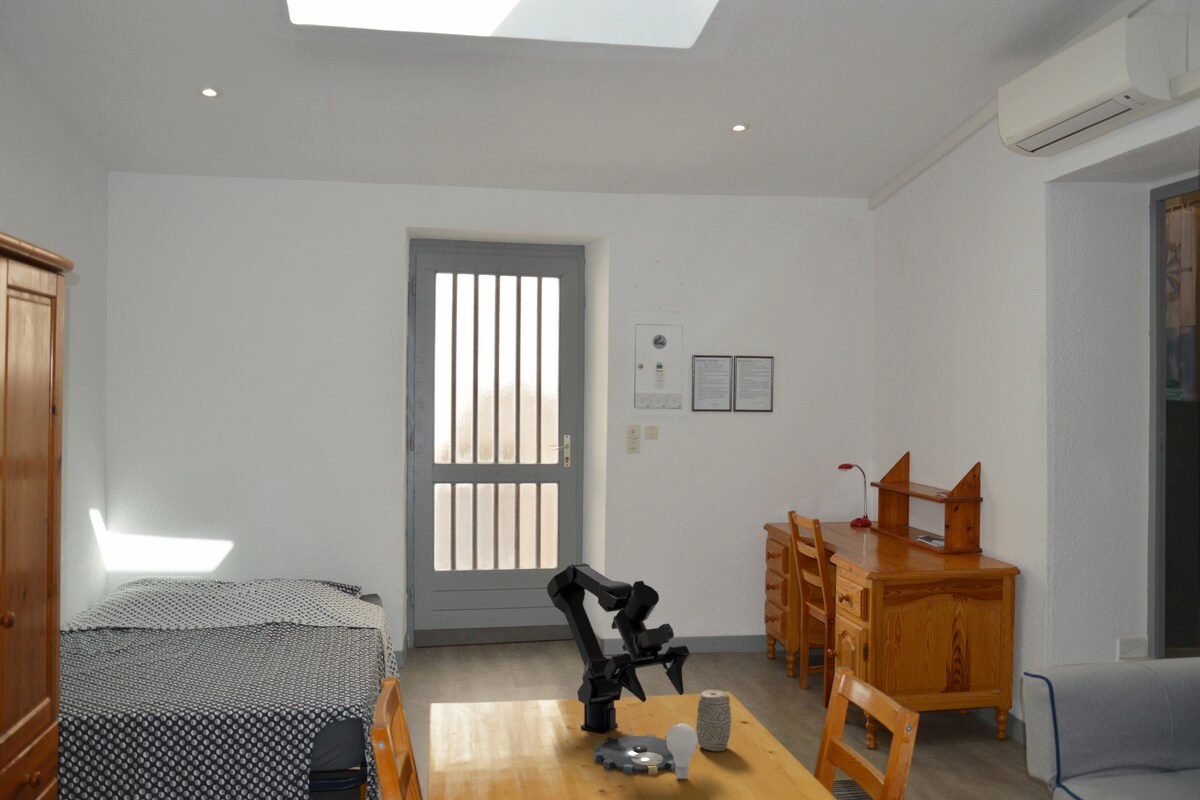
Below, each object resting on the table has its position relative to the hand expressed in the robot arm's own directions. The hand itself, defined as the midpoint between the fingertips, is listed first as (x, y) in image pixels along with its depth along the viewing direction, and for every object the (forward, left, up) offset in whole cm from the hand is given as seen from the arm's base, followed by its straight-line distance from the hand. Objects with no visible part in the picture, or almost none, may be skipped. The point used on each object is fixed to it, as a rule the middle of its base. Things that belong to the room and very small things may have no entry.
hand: (663, 697), depth 201 cm
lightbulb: (+6, -4, -14) cm, 16 cm away
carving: (+4, +15, -14) cm, 21 cm away
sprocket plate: (-7, +2, -14) cm, 16 cm away
